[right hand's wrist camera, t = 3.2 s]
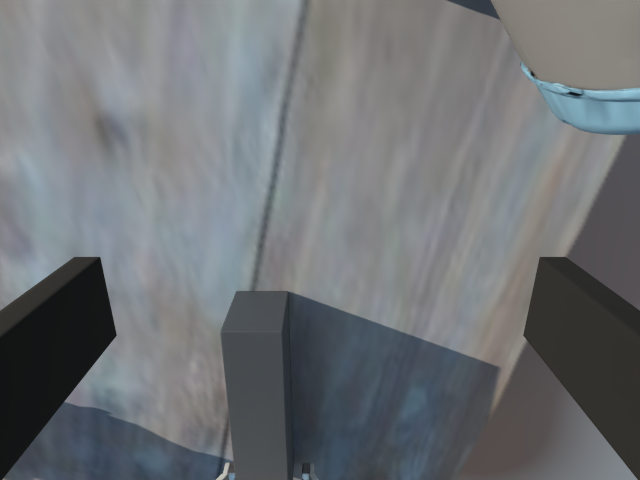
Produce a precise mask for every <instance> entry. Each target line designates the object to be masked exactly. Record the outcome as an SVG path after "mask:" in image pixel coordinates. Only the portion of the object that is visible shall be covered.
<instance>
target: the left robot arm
mask: <svg viewBox="0 0 640 480" xmlns="http://www.w3.org/2000/svg"><path fill="white" fill-rule="evenodd" d="M216 480H236V479H235V469H234V463H226V464H225V467H224V471H223V474H221V475H220V476H219V477H218V478H217V479H216ZM302 480H319V479H318V478H317V476H316V475H315V468H314V463H303V469H302Z"/></svg>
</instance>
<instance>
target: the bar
mask: <svg viewBox="0 0 640 480" xmlns="http://www.w3.org/2000/svg"><path fill="white" fill-rule="evenodd" d="M220 333H221V343H222V353H223V362H224V372H225V382H226V392H227V401H228V411H229V421H230V430H231V440H232V450H233V460H234V469H235V479H236V480H293V468H294V458H293V427H292V395H291V363H290V331H289V300H288V291H236V294H235V296H234V299H233V301H232V304H231V306H230V309H229V311H228V314H227V316H226V319H225V321H224V324H223V327H222V329H221V332H220Z"/></svg>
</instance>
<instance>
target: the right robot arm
mask: <svg viewBox="0 0 640 480" xmlns="http://www.w3.org/2000/svg"><path fill="white" fill-rule="evenodd" d="M491 2H492V4H493V6H494V8H495V10H496V12H497V14H498V16H499V18H500V20H501V21H502V23H503V25H504V27H505V29H506V31H507V33H508V35H509V37H510V39H511V41H512V43H513V45H514V47H515V49H516V51H517V53H518V55H519V57H520V59H521V67H522V69H523V72H524V74H525V75H526V76H527V77H528V79H529V80H531V81H532V82H533V83H535V84H536V86H537V88H538V89H539V91H540V93H541V94H542V96H543V98H544V99H545V101H546V103H547V104H548V106H549V108H550V110H551V111H552V112H553V114H554V115H555V116H556V117H557V118H558V119H559V120H561V121H562V122H564V123H567V124H570V125H572V126H573V127H576V128H578V129H579V130H582V131H586V132H591V133H598V134H608V135H629V134H640V0H491ZM116 336H117V335H116V330H115V325H114V321H113V316H112V311H111V306H110V302H109V297H108V292H107V287H106V283H105V278H104V273H103V268H102V264H101V259H100V257H74V258H72V259H71V260H70V261H68V262H67V263H66V264H64V265H63V266H61V267H60V268H59V269H57V270H56V271H55V272H53V273H52V274H50V275H49V276H48V277H46V278H45V279H43V280H42V281H41V282H39V283H38V284H37V285H35V286H34V287H32V288H31V289H30V290H28V291H27V292H25V293H24V294H23V295H21V296H20V297H19V298H17V299H16V300H14V301H13V302H12V303H10V304H9V305H8V306H6V307H5V308H3V309H2V310H1V311H0V480H2V479H3V478H4V477H5V475H6V474H7V473H8V472H9V470H10V469H11V468H12V467H13V465H14V464H15V463H16V461H17V460H18V459H19V458H20V456H21V455H22V454H23V453H24V451H25V450H26V449H27V448H28V446H29V445H30V444H31V443H32V441H33V440H34V439H35V438H36V436H37V435H38V434H39V433H40V431H41V430H42V429H43V427H44V426H45V425H46V424H47V422H48V421H49V420H50V419H51V417H52V416H53V415H54V414H55V412H56V411H57V410H58V409H59V407H60V406H61V405H62V404H63V402H64V401H65V400H66V399H67V397H68V396H69V395H70V393H71V392H72V391H73V390H74V388H75V387H76V386H77V385H78V383H79V382H80V381H81V380H82V378H83V377H84V376H85V375H86V373H87V372H88V371H89V370H90V368H91V367H92V366H93V365H94V363H95V362H96V361H97V359H98V358H99V357H100V356H101V354H102V353H103V352H104V351H105V349H106V348H107V347H108V346H109V344H110V343H111V342H112V341H113V339H114V338H115V337H116ZM523 336H524V337H525V338H526V339H527V341H528V342H529V343H530V344H531V346H532V347H533V348H534V349H535V351H536V352H537V353H538V354H539V356H540V357H541V358H542V359H543V361H544V362H545V363H546V365H547V366H548V367H549V368H550V370H551V371H552V372H553V373H554V375H555V376H556V377H557V378H558V380H559V381H560V382H561V383H562V385H563V386H564V387H565V388H566V390H567V391H568V392H569V393H570V395H571V396H572V397H573V399H574V400H575V401H576V402H577V403H578V405H579V406H580V407H581V408H582V410H583V411H584V412H585V414H586V415H587V416H588V417H589V419H590V420H591V421H592V422H593V424H594V425H595V426H596V427H597V429H598V430H599V431H600V433H601V434H602V435H603V436H604V438H605V439H606V440H607V441H608V443H609V444H610V445H611V446H612V448H613V449H614V450H615V451H616V453H617V454H618V455H619V456H620V458H621V459H622V460H623V461H624V463H625V464H626V465H627V467H628V468H629V469H630V470H631V472H632V473H633V474H634V475H635V477H636V478H637V479H638V480H640V311H639V310H638V309H637V308H635V307H634V306H632V305H631V304H630V303H628V302H627V301H626V300H624V299H623V298H621V297H620V296H619V295H617V294H616V293H614V292H613V291H612V290H610V289H609V288H608V287H606V286H605V285H603V284H602V283H601V282H599V281H598V280H597V279H595V278H594V277H592V276H591V275H590V274H588V273H587V272H585V271H584V270H583V269H581V268H580V267H579V266H577V265H576V264H574V263H573V262H572V261H570V260H569V259H568V258H566V257H540V259H539V264H538V268H537V273H536V278H535V283H534V287H533V292H532V297H531V302H530V306H529V311H528V316H527V321H526V325H525V330H524V335H523Z"/></svg>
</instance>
